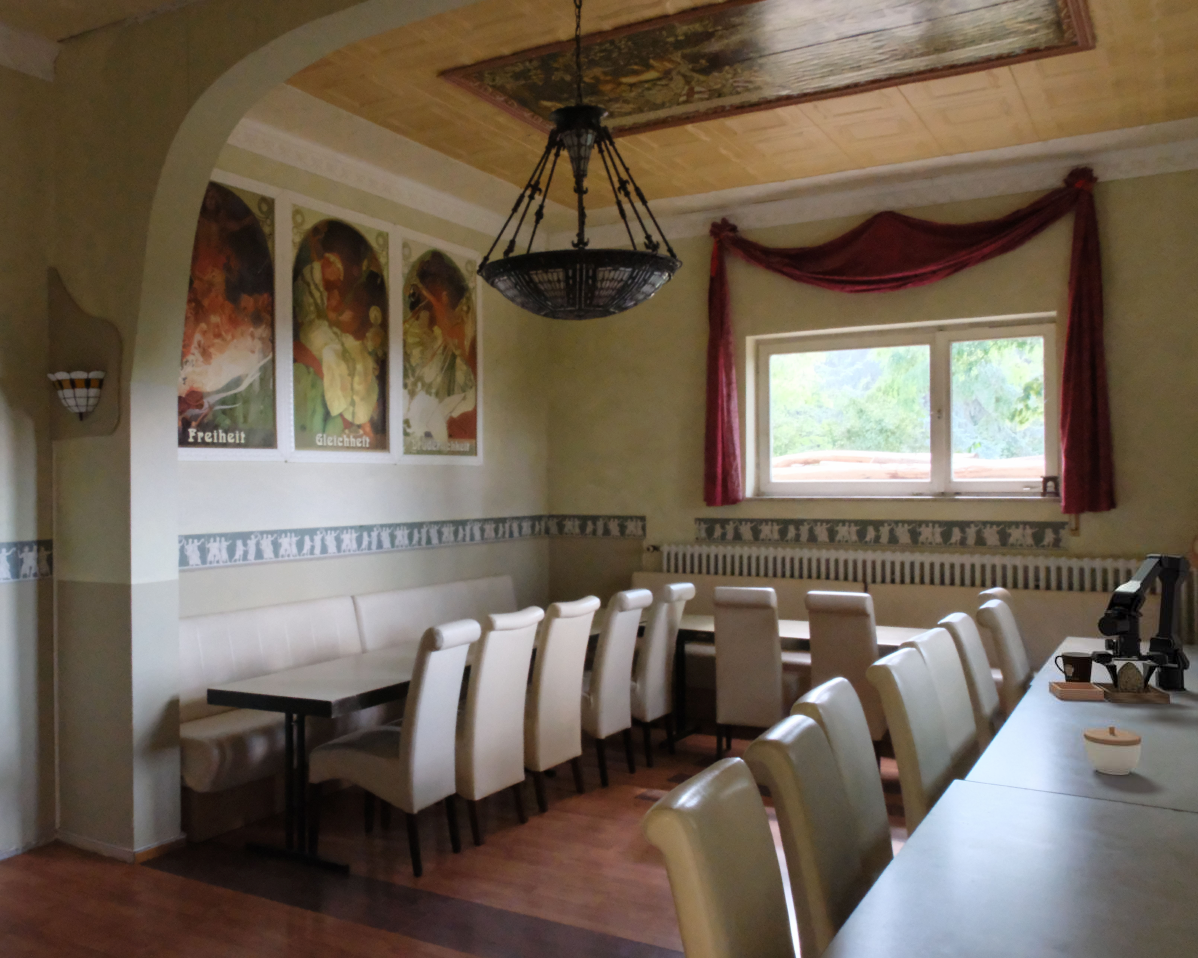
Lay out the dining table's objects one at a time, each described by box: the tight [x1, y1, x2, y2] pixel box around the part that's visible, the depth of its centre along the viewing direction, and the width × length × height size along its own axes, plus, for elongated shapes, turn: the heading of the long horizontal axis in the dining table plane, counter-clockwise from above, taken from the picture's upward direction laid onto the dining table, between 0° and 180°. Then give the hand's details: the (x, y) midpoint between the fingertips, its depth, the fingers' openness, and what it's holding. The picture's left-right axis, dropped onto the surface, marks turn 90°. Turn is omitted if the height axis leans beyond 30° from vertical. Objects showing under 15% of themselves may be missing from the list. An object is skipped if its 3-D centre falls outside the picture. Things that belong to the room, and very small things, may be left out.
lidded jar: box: [1083, 725, 1142, 776], centre depth 205 cm, size 11×11×9 cm
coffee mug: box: [1054, 651, 1094, 683], centre depth 294 cm, size 12×9×10 cm
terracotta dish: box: [1048, 681, 1105, 701], centre depth 281 cm, size 12×12×3 cm
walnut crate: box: [1091, 681, 1171, 704], centre depth 278 cm, size 16×16×2 cm
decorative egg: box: [1117, 661, 1144, 693], centre depth 278 cm, size 7×7×10 cm
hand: (1130, 687), depth 278 cm, fingers closed on decorative egg, 7 cm apart
